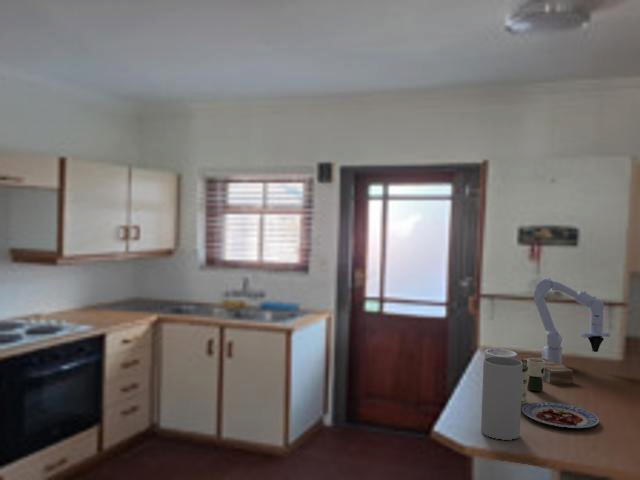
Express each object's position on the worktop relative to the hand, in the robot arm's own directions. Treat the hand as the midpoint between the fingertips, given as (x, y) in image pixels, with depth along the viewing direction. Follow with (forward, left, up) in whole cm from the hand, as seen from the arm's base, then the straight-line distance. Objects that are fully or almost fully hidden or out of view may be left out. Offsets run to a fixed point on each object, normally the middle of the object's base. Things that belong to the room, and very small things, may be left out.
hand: (595, 351), depth 275 cm
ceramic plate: (+55, -61, -10) cm, 83 cm away
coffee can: (+33, -66, -10) cm, 74 cm away
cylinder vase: (+64, -91, -10) cm, 112 cm away
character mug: (+23, -49, -10) cm, 55 cm away
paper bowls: (-12, -44, -10) cm, 47 cm away
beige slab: (+5, -31, -9) cm, 32 cm away
